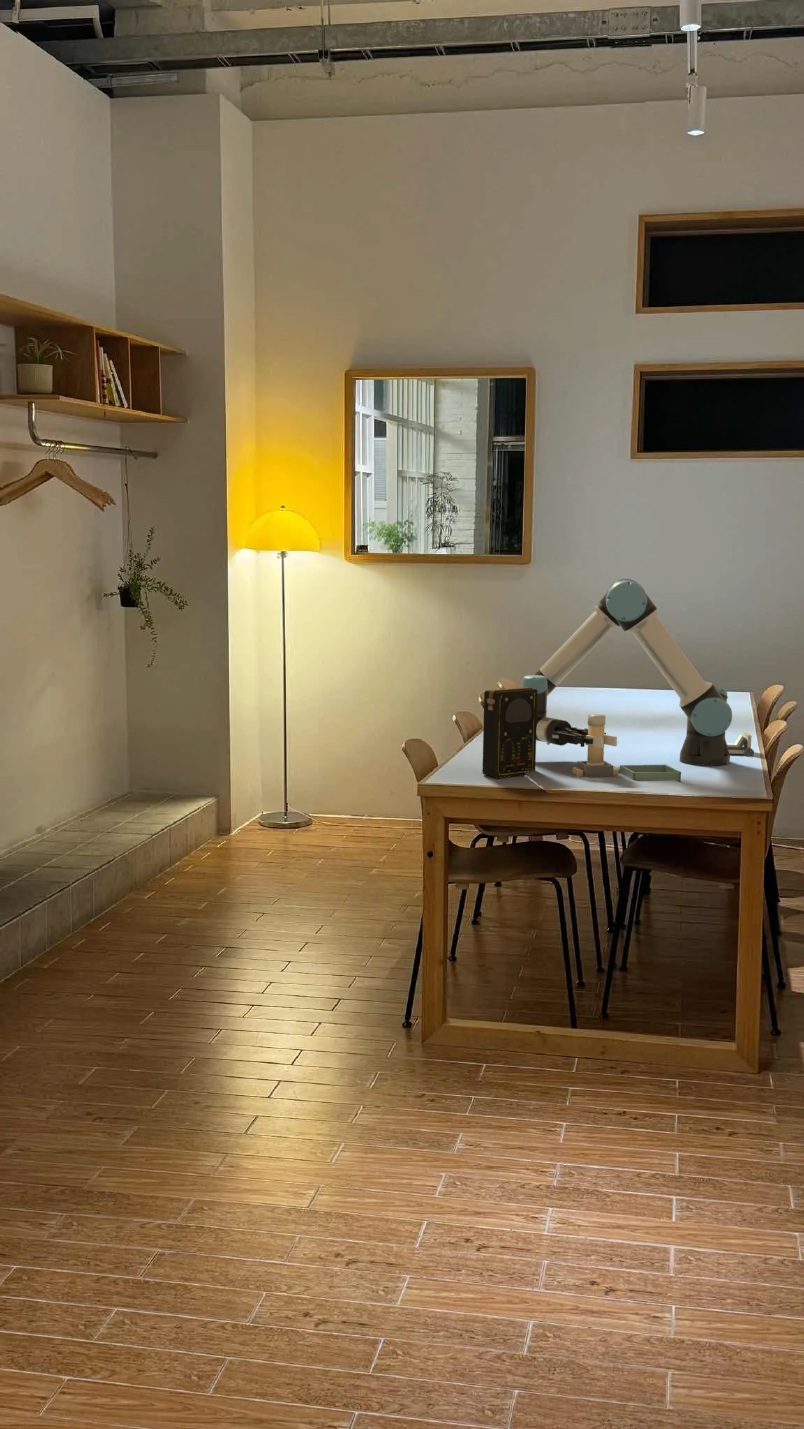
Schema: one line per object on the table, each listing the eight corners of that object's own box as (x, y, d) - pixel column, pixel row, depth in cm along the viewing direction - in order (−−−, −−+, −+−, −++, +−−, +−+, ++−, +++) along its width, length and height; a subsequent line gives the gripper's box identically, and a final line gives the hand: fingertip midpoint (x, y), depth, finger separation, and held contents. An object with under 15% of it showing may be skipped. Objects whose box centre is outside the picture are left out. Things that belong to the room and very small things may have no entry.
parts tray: (665, 774, 385) (666, 764, 385) (680, 782, 373) (681, 772, 373) (619, 775, 383) (619, 765, 382) (633, 783, 371) (633, 772, 371)
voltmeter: (497, 779, 374) (499, 692, 370) (478, 775, 380) (480, 688, 377) (538, 774, 383) (541, 688, 379) (519, 769, 390) (521, 685, 386)
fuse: (600, 768, 382) (602, 714, 380) (606, 772, 377) (607, 716, 375) (584, 769, 381) (585, 714, 379) (589, 772, 376) (590, 716, 374)
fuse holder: (609, 773, 385) (610, 760, 385) (620, 780, 376) (621, 766, 375) (569, 774, 384) (570, 760, 383) (579, 780, 374) (580, 766, 373)
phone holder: (697, 725, 419) (693, 720, 431) (696, 755, 421) (691, 749, 432) (755, 727, 418) (749, 721, 429) (753, 757, 419) (748, 751, 430)
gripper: (576, 741, 398) (631, 752, 379) (531, 746, 388) (585, 758, 369) (577, 716, 397) (632, 726, 378) (532, 721, 387) (586, 731, 368)
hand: (608, 742), depth 374 cm, fingers closed on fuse, 4 cm apart
